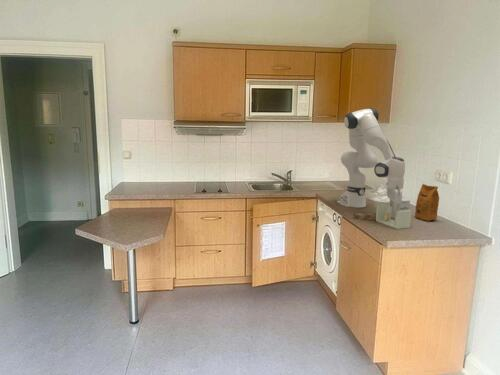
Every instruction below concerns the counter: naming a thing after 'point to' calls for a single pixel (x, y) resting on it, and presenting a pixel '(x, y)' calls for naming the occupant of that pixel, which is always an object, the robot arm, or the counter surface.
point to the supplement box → (400, 207)
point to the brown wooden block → (364, 216)
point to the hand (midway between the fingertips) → (393, 207)
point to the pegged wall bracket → (400, 220)
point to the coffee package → (427, 203)
